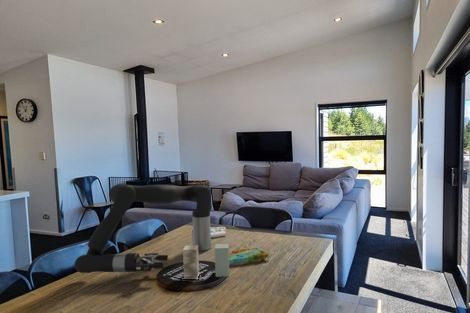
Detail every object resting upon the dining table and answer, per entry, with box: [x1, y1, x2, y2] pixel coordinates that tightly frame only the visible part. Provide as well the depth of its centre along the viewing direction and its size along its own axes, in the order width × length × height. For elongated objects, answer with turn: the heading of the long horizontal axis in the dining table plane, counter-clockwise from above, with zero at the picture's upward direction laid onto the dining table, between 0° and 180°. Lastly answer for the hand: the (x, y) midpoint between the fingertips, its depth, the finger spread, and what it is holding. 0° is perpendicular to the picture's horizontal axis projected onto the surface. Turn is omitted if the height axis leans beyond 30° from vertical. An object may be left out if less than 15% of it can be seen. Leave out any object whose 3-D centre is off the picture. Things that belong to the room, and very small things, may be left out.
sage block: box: [214, 243, 230, 278], centre depth 142 cm, size 6×6×12 cm
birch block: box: [182, 244, 200, 279], centre depth 141 cm, size 6×6×12 cm
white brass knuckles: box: [210, 226, 227, 239], centre depth 204 cm, size 3×18×15 cm
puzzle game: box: [229, 246, 269, 267], centre depth 158 cm, size 12×5×20 cm
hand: (165, 261), depth 141 cm, fingers open, 8 cm apart
